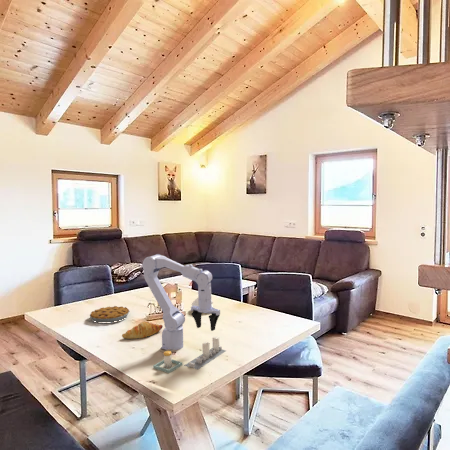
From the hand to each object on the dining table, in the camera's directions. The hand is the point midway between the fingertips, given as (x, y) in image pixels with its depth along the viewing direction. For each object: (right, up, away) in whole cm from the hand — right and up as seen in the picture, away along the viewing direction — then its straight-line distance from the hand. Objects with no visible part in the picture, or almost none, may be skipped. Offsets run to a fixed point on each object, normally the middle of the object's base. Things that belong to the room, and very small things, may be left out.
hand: (205, 328), depth 161 cm
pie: (-58, -8, +49) cm, 77 cm away
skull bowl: (-5, -7, +62) cm, 62 cm away
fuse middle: (+1, -10, -7) cm, 12 cm away
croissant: (-33, -10, +22) cm, 41 cm away
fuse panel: (+1, -11, -7) cm, 13 cm away
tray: (-14, -12, -15) cm, 24 cm away
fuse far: (+5, -10, -1) cm, 11 cm away
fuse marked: (-14, -11, -15) cm, 24 cm away
